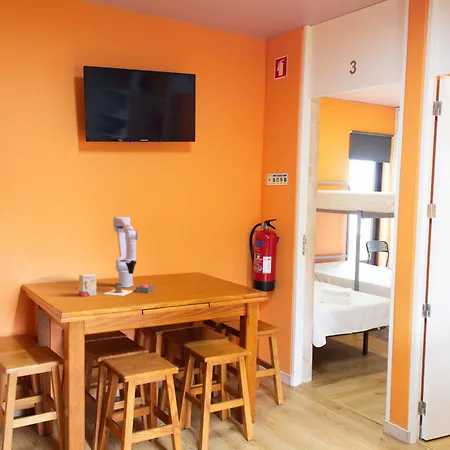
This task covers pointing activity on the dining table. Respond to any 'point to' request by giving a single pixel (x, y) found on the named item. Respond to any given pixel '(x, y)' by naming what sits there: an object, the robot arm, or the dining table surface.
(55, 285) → the dining table surface
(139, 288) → the button housing
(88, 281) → the ink box
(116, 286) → the grey rounded cylinder
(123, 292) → the paper sheet
